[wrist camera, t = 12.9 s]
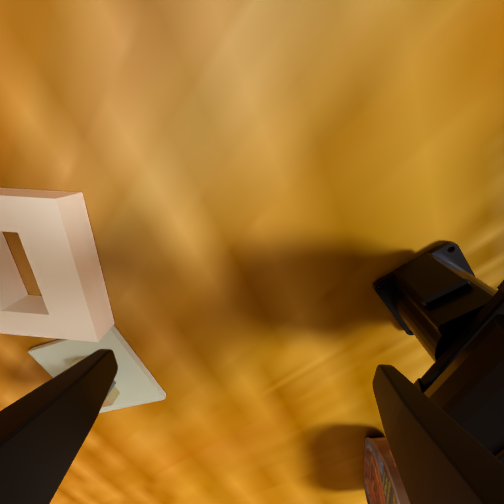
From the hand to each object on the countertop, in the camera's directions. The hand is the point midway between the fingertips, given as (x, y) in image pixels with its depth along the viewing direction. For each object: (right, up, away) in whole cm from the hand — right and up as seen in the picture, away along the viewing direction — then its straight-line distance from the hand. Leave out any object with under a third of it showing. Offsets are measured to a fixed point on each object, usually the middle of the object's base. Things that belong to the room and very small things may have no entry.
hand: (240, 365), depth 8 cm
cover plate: (-19, +3, +13) cm, 24 cm away
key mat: (-17, -10, +19) cm, 27 cm away
